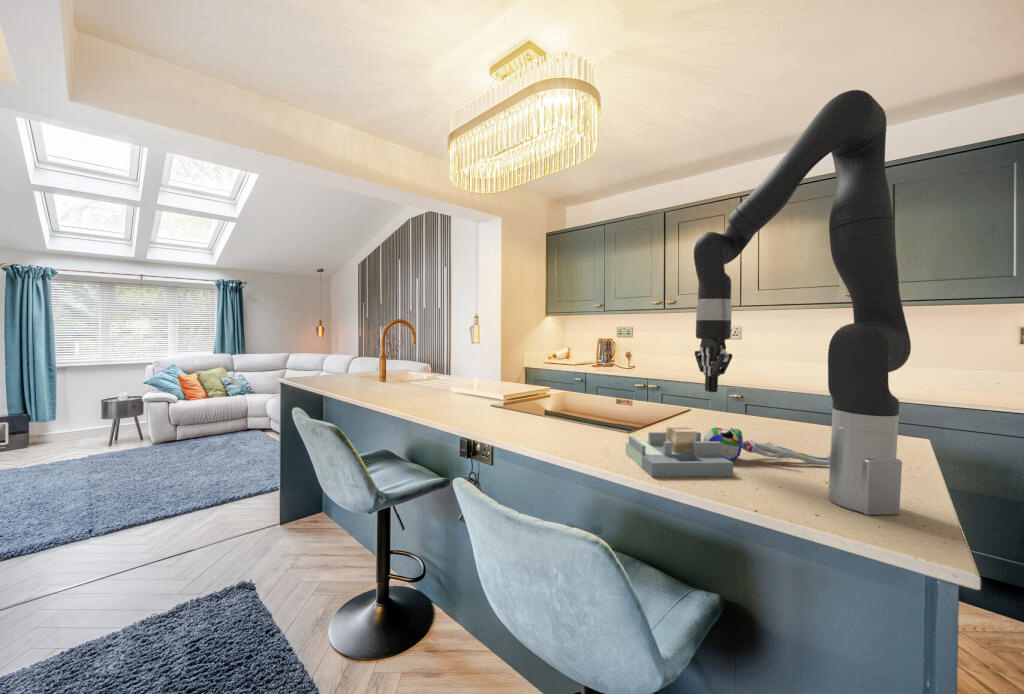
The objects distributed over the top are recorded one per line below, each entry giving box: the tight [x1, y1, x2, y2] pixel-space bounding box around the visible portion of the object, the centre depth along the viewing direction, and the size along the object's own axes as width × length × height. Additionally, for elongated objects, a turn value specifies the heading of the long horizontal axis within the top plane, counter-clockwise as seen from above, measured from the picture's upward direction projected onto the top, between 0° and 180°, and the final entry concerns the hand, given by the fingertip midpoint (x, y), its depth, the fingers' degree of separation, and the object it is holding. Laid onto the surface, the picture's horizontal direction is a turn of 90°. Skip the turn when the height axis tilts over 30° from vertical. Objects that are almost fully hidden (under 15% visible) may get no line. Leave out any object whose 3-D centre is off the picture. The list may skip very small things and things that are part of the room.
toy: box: [702, 427, 830, 466], centre depth 101 cm, size 10×8×30 cm
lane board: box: [625, 431, 734, 478], centre depth 99 cm, size 17×18×6 cm
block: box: [665, 425, 698, 453], centre depth 100 cm, size 5×5×5 cm
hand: (711, 391), depth 100 cm, fingers closed
